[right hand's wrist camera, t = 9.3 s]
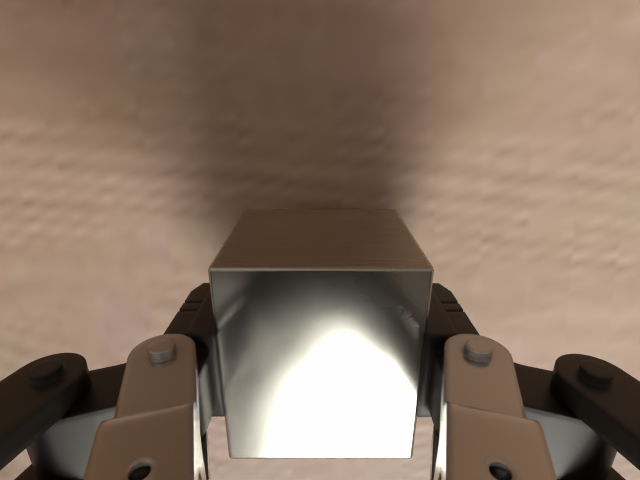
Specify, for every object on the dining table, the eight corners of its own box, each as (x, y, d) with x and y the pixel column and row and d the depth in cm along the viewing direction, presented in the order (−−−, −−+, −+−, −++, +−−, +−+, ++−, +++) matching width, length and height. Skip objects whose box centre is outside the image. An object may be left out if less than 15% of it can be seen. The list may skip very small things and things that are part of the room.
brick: (386, 353, 13) (413, 460, 9) (255, 353, 13) (228, 460, 9) (396, 208, 11) (435, 267, 8) (245, 208, 11) (206, 267, 8)
